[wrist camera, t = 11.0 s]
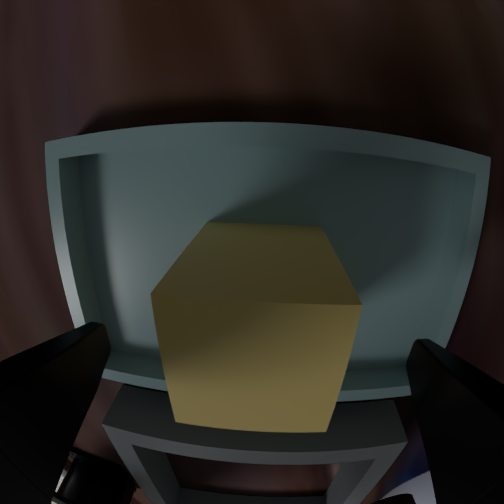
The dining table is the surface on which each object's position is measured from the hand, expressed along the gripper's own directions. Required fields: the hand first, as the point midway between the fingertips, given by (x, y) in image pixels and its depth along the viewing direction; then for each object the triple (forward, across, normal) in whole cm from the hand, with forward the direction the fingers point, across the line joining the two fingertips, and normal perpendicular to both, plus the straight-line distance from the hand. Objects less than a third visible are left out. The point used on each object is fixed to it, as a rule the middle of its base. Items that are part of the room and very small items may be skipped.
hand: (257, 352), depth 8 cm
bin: (+6, 0, +17) cm, 18 cm away
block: (+5, 0, 0) cm, 5 cm away
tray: (+6, 0, 0) cm, 6 cm away
